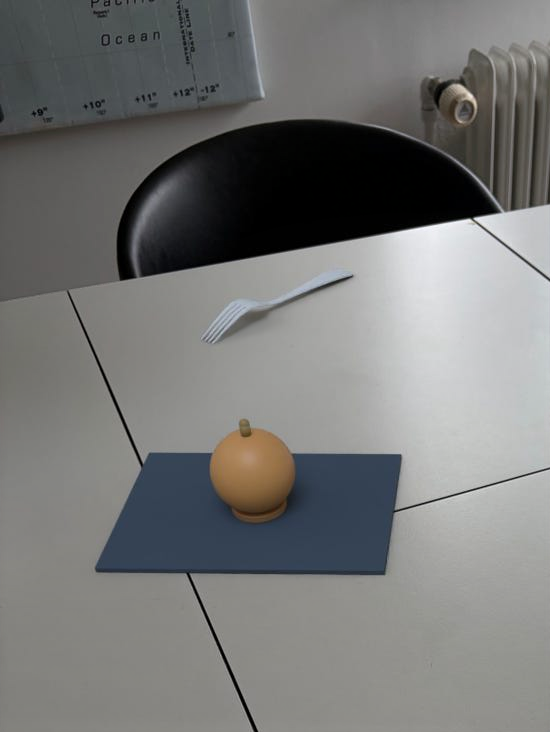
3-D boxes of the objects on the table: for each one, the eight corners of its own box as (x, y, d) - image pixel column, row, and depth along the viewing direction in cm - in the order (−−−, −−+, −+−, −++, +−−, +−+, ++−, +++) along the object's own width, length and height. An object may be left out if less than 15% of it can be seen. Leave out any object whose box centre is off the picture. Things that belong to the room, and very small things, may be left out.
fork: (357, 296, 119) (357, 272, 117) (216, 345, 105) (213, 319, 104) (339, 290, 120) (339, 266, 118) (197, 338, 107) (194, 311, 105)
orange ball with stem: (210, 531, 82) (190, 442, 76) (227, 483, 87) (209, 397, 81) (293, 532, 82) (279, 443, 76) (306, 484, 87) (293, 397, 81)
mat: (95, 572, 79) (94, 568, 79) (150, 456, 91) (149, 452, 90) (384, 574, 78) (384, 570, 78) (401, 457, 90) (401, 453, 90)
